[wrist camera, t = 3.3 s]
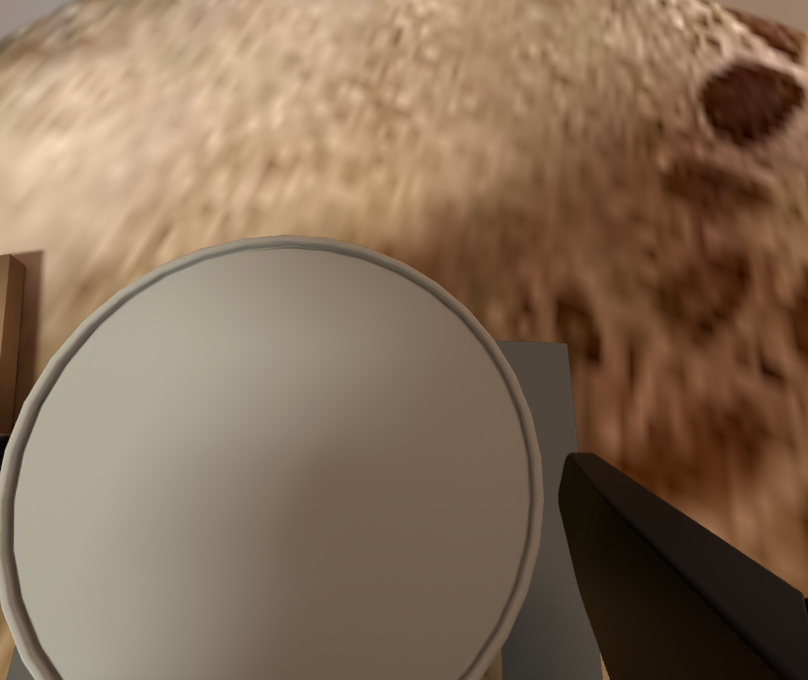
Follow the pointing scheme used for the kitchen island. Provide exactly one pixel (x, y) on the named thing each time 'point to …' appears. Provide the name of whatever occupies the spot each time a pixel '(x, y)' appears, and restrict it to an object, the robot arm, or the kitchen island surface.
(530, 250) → the kitchen island surface
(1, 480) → the beverage can
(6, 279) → the walnut board
